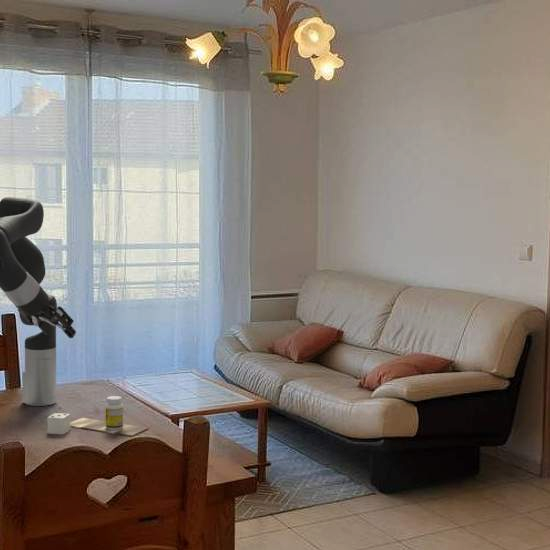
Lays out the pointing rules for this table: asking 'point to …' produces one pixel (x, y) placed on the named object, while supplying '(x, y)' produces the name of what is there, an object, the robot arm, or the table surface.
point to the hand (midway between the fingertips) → (61, 333)
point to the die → (58, 423)
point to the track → (101, 426)
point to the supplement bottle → (114, 413)
